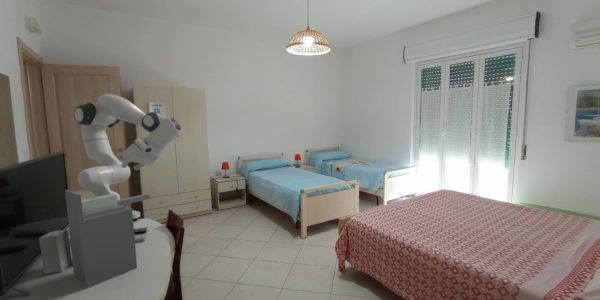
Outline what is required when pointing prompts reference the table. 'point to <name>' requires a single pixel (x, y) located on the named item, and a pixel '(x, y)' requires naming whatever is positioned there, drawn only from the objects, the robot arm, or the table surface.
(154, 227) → the table surface
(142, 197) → the pale block gray handle
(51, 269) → the skincare box
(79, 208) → the caddy bay
